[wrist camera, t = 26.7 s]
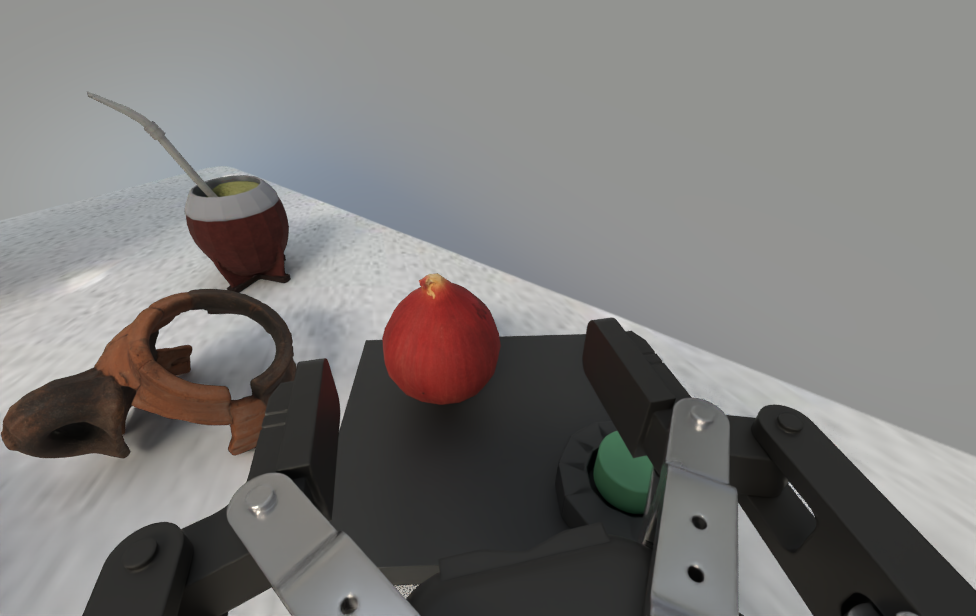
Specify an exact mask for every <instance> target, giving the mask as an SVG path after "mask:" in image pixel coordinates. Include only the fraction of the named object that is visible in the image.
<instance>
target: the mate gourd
mask: <svg viewBox="0 0 976 616" xmlns="http://www.w3.org/2000/svg"><path fill="white" fill-rule="evenodd" d="M87 94H88V97H90V98H92V99H94V100H96V101H98V102H100V103H103V104H105V105H107V106H109V107H111V108H113V109H115V110H117V111H119V112H121V113H123V114H125V115H127V116H128V117H130V118H132V119H133V120H135V121H137V122H138V123H140V124H141V125H142V126H144V127H145V128H144V130H145V131H146V132H147V133H149V134H150V136H152V138H153V139H154V140H158V141H159V142H160V144H161V145H162V146H163V147H164V148H165V149H166V150H167V152H168V153H169V154H170V155H171V156H172V157H173V159H174V160H175V161H176V162H177V163H178V164H179V165H180V166H181V168H182V169H183V170H184V171H185V172H186V173H187V174H188V176H189V177H190V178H191V179H192V180H193V181H194V182H195V183H196V184H197V185H196V186H195V187H193V188H192V189H191V190H190V191H189V194H188V197H187V201H186V205H185V215H186V220H187V226H188V229H189V232H190V234H191V236H192V238H193V240H194V241H195V243H196V244H197V246H198V247H199V248H200V249H201V250H202V251H203V253H205V254H206V255H207V256H208V257H209V258H210V259H211V260H212V261H213V262H214V264H215V266H216V267H217V269H218V270H219V271H220V273H221V274H222V275H223V276H224V278H225V279H226V280H227V281H228V283H229V284H230V286H229V287H228V288H227V290H229V291H234V292H238V293H239V292H240V291H242V290H243V289H245V288H246V287H248V286H249V285H251V284H252V283H254V282H255V281H257V280H258V279H265V280H271V281H276V282H281V283H286V282H288V281H289V280H290V274H286V273H285V268H284V261H285V260H286V259H285V255H284V251H285V248H286V246H287V242H288V234H289V225H288V219H287V215H286V212H285V209H284V207H283V204H282V202H281V200H280V199H279V197H278V195H277V192H276V191H275V190H274V189H273V188H272V187H271V186H270V185H269V184H268V183H266V182H265V181H264V180H262V179H260V178H258V177H255V176H247V175H240V176H227V177H220V178H216V179H212V180H208V181H205V182H204V181H203V180H202V179H201V178H200V176H199V175H198V174H197V173H196V172H195V171H194V170H193V168H192V167H191V166H190V165H189V164H188V162H187V161H186V160H185V159H184V158H183V157H182V155H181V154H180V153H179V152H178V151H177V150H176V149H175V147H174V146H173V145H172V144H171V143H170V141H169V140H168V139H167V138H166V137H165V133H164V132H163V131H162V130H161V128H158V125H157V124H155V122H153V121H152V122H151V121H149V120H148V119H147V118H146V117H144V116H143V115H141V114H139V113H137V112H136V111H134V110H132V109H130V108H128V107H126V106H123V105H121V104H118V103H116V102H113V101H110V100H108V99H105V98H103V97H100V96H98V95H95V94H92V93H89V92H87Z"/></svg>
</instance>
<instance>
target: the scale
mask: <svg viewBox="0 0 976 616" xmlns="http://www.w3.org/2000/svg"><path fill="white" fill-rule="evenodd" d="M499 338H500V345H501V347H500V351H499V356H498V361H497V365H496V369H495V372H494V375H493V376H492V377H491V379H490V380H489V381H488V383H487V384H486V385H485V386H484V387H483V388H482V389H481V390H480V391H479V392H478V394H477V395H475V396H473V397H471V398H469V399H466V400H464V401H462V402H460V403H452V404H443V405H439V404H433V403H426V402H421V401H419V400H417V399H415V398H412V397H410V396H408V395H406V394H405V393H404V392H403V391H402V390H401V389H400V388H399V386H398V385H397V384H396V383H395V382H394V381H393V380H392V379H391V377H390V376H389V374H388V371H387V368H386V365H385V360H384V352H383V340H366V342H365V345H364V349H363V352H362V356H361V359H360V362H359V366H358V369H357V373H356V376H355V379H354V383H353V386H352V390H351V393H350V396H349V400H348V403H347V407H346V410H345V414H344V417H343V420H342V424H341V427H340V431H339V437H338V449H337V462H336V475H335V488H334V500H333V513H332V521H328V522H329V523H330V524H331V525H332V526H333V527H334V528H335V529H336V530H337V531H338V532H340V531H343V532H345V533H346V534H347V535H348V536H349V537H350V538H351V539H352V540H353V541H354V542H355V543H356V545H357V546H358V547H359V548H360V549H361V550H362V551H363V552H364V553H365V554H366V556H367V557H368V558H369V559H370V560H371V561H372V562H373V563H374V564H375V566H376V567H377V568H378V569H379V570H380V571H381V572H382V573H383V574H384V576H385V577H386V578H387V579H388V580H389V581H390V582H391V583H392V584H393V585H410V584H421V583H422V582H424V581H425V580H427V579H428V578H429V577H431V576H433V575H434V574H436V573H438V572H440V571H439V562H438V559H440V558H444V557H448V556H453V555H457V554H462V553H466V552H471V551H475V550H479V549H486V550H506V551H527V550H529V549H531V548H533V547H535V546H537V545H539V544H540V543H542V542H544V541H546V540H548V539H549V538H551V537H553V536H555V535H557V534H558V533H560V532H562V531H564V530H568V529H572V528H577V527H581V526H586V525H590V524H594V523H599V522H602V523H603V525H604V527H605V530H606V532H607V534H611V535H617V536H622V537H625V538H628V539H631V540H634V541H636V542H637V540H638V536H639V533H640V529H641V525H642V520H643V514H633V513H628V512H625V511H622V510H620V509H618V508H616V507H614V506H613V505H611V504H610V503H609V502H607V501H606V500H605V499H604V497H603V496H602V495H601V494H600V492H599V491H598V489H597V487H596V484H595V481H594V475H593V472H594V466H595V462H596V458H597V453H598V449H599V446H600V443H601V442H602V440H603V439H604V438H605V437H606V436H607V435H609V434H610V433H612V432H615V431H617V429H616V427H615V426H614V424H613V422H612V420H611V419H610V417H609V415H608V413H607V412H606V410H605V408H604V406H603V405H602V403H601V401H600V399H599V398H598V396H597V394H596V392H595V391H594V389H593V387H592V385H591V384H590V382H589V380H588V378H587V376H586V374H585V372H584V369H583V363H582V356H583V350H584V344H585V338H586V334H577V335H542V336H506V337H499Z"/></svg>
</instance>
